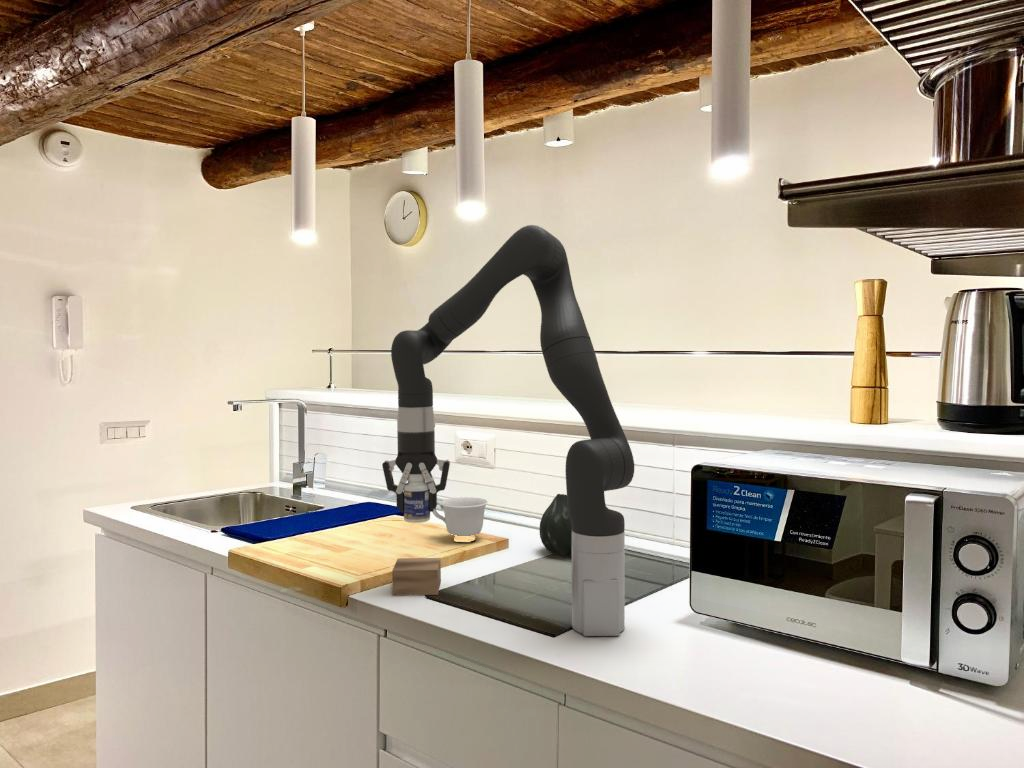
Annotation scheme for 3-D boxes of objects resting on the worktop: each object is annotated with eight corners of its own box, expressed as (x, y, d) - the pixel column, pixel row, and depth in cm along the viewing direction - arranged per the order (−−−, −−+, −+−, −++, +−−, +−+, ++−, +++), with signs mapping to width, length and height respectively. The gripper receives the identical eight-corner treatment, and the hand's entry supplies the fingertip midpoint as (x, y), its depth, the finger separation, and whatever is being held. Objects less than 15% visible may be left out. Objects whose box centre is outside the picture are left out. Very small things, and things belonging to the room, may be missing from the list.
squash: (622, 530, 187) (586, 479, 192) (587, 545, 175) (549, 491, 181) (586, 561, 194) (552, 512, 200) (550, 578, 183) (515, 524, 188)
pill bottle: (399, 522, 158) (399, 474, 158) (409, 516, 164) (408, 470, 163) (425, 523, 157) (424, 475, 157) (434, 518, 162) (433, 471, 162)
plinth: (437, 594, 156) (437, 570, 156) (392, 595, 156) (392, 570, 156) (440, 581, 165) (440, 557, 165) (398, 581, 165) (397, 558, 165)
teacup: (441, 532, 209) (441, 495, 208) (494, 536, 204) (494, 498, 204) (422, 543, 197) (422, 504, 197) (478, 548, 193) (478, 507, 192)
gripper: (377, 431, 155) (379, 515, 156) (450, 430, 156) (451, 514, 156) (383, 427, 163) (384, 507, 164) (452, 426, 163) (453, 507, 164)
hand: (417, 510), depth 160 cm, fingers closed on pill bottle, 5 cm apart
